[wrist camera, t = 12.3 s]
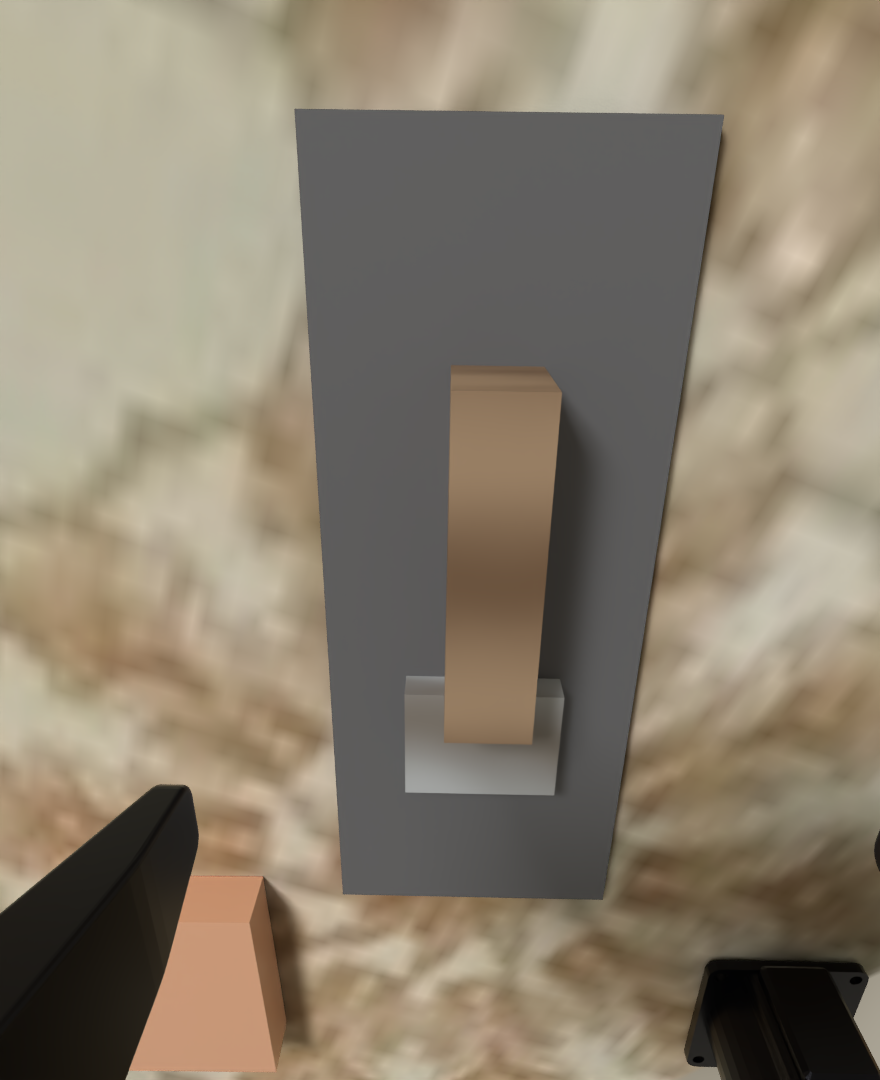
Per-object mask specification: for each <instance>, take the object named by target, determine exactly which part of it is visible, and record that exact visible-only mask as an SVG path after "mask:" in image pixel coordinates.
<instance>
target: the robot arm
mask: <svg viewBox="0 0 880 1080" xmlns="http://www.w3.org/2000/svg"><path fill="white" fill-rule="evenodd" d="M198 839H199V833H198V826H197V821H196V815H195V809H194V803H193V798H192V793H191V790H190V789H189V787H188V786H185V785H162V784H161V785H157V786H155V787H153V788H151V789H150V790H149V791H148V792H146V793H145V794H144V795H143V796H141V797H140V798H139V799H138V800H137V801H135V802H134V803H133V804H132V805H131V806H129V807H128V808H127V809H126V810H125V811H123V812H122V813H121V814H120V815H119V816H117V817H116V818H115V819H114V820H112V821H111V822H110V823H109V824H108V825H106V826H105V827H104V828H103V829H102V830H100V831H99V832H98V833H97V834H96V835H94V836H93V837H92V838H91V839H90V840H88V841H87V842H86V843H85V844H84V845H82V846H81V847H80V848H79V849H77V850H76V851H75V852H74V853H73V854H71V855H70V856H69V857H68V858H67V859H65V860H64V861H63V862H62V863H61V864H59V865H58V866H57V867H56V868H55V869H53V870H52V871H51V872H50V873H48V874H47V875H46V876H45V877H44V878H42V879H41V880H40V881H39V882H38V883H36V884H35V885H34V886H33V887H32V888H30V889H29V890H28V891H27V892H26V893H24V894H23V895H22V896H21V897H19V898H18V899H17V900H16V901H15V902H13V903H12V904H11V905H10V906H9V907H7V908H6V909H5V910H4V911H3V912H1V913H0V1080H125V1079H126V1077H127V1074H128V1071H129V1069H130V1066H131V1063H132V1061H133V1058H134V1055H135V1053H136V1050H137V1047H138V1045H139V1042H140V1039H141V1037H142V1034H143V1031H144V1029H145V1026H146V1023H147V1020H148V1018H149V1015H150V1012H151V1010H152V1007H153V1004H154V1002H155V999H156V996H157V994H158V991H159V988H160V985H161V982H162V979H163V976H164V973H165V970H166V966H167V963H168V959H169V956H170V952H171V948H172V945H173V941H174V937H175V933H176V929H177V925H178V922H179V918H180V914H181V910H182V906H183V902H184V899H185V895H186V891H187V887H188V883H189V879H190V876H191V872H192V868H193V864H194V860H195V857H196V853H197V848H198ZM874 853H875V859H876V863H877V866H878V869H879V871H880V831H879V834H878V836H877V839H876V842H875V848H874ZM868 979H869V977H868V976H867V974H866V972H865V970H864V969H863V967H862V965H860V964H857V963H833V962H787V961H740V960H715V961H712V962H710V963H709V964H707V965H706V967H705V970H704V974H703V978H702V982H701V986H700V990H699V994H698V998H697V1002H696V1006H695V1010H694V1013H693V1017H692V1021H691V1025H690V1029H689V1033H688V1037H687V1041H686V1045H685V1049H684V1052H685V1056H686V1059H687V1062H688V1064H690V1065H692V1066H699V1067H717V1068H718V1071H719V1074H720V1077H721V1080H880V1070H879V1068H878V1066H877V1064H876V1062H875V1060H874V1058H873V1056H872V1054H871V1052H870V1050H869V1048H868V1046H867V1044H866V1042H865V1040H864V1038H863V1036H862V1034H861V1032H860V1030H859V1028H858V1026H857V1025H856V1023H855V1021H854V1019H853V1017H854V1015H855V1013H856V1010H857V1008H858V1005H859V1002H860V1000H861V997H862V995H863V993H864V990H865V987H866V985H867V983H868Z"/></svg>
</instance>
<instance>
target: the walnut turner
mask: <svg viewBox="0 0 880 1080" xmlns="http://www.w3.org/2000/svg"><path fill="white" fill-rule="evenodd" d="M561 399H562V392H561V390H560V389H559V387H558V386H557V384H556V383H555V381H554V380H553V378H552V377H551V375H550V374H549V373H548V371H547V370H546V368H545V367H534V366H473V365H451V384H450V434H449V484H448V535H447V585H446V635H445V677H436V676H406V684H405V695H404V696H405V792H409V793H458V794H507V795H554V792H555V782H556V773H557V764H558V754H559V745H560V735H561V726H562V716H563V707H564V694H563V690H562V686H561V682H560V679H539V678H538V668H539V657H540V645H541V633H542V622H543V610H544V598H545V586H546V575H547V563H548V551H549V540H550V528H551V516H552V505H553V493H554V481H555V470H556V458H557V446H558V434H559V423H560V411H561Z"/></svg>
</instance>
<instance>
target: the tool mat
mask: <svg viewBox="0 0 880 1080" xmlns="http://www.w3.org/2000/svg"><path fill="white" fill-rule="evenodd" d="M723 119H724V115H709V114H635V113H561V112H487V111H413V110H339V109H295V123H296V139H297V155H298V172H299V188H300V204H301V220H302V236H303V253H304V269H305V285H306V301H307V318H308V334H309V350H310V366H311V382H312V399H313V415H314V431H315V447H316V463H317V480H318V496H319V512H320V528H321V544H322V561H323V577H324V593H325V609H326V625H327V642H328V658H329V674H330V690H331V706H332V723H333V739H334V755H335V771H336V787H337V804H338V820H339V836H340V852H341V868H342V885H343V894H355V895H403V896H451V897H499V898H547V899H594V900H603V894H604V888H605V881H606V875H607V868H608V862H609V855H610V849H611V843H612V836H613V830H614V823H615V817H616V810H617V804H618V797H619V791H620V784H621V778H622V771H623V765H624V759H625V752H626V746H627V739H628V733H629V726H630V720H631V713H632V707H633V700H634V694H635V688H636V681H637V675H638V668H639V662H640V655H641V649H642V642H643V636H644V629H645V623H646V616H647V610H648V604H649V597H650V591H651V584H652V578H653V571H654V565H655V558H656V552H657V545H658V539H659V533H660V526H661V520H662V513H663V507H664V500H665V494H666V487H667V481H668V474H669V468H670V461H671V455H672V449H673V442H674V436H675V429H676V423H677V416H678V410H679V403H680V397H681V390H682V384H683V378H684V371H685V365H686V358H687V352H688V345H689V339H690V332H691V326H692V319H693V313H694V307H695V300H696V294H697V287H698V281H699V274H700V268H701V261H702V255H703V248H704V242H705V235H706V229H707V223H708V216H709V210H710V203H711V197H712V190H713V184H714V177H715V171H716V164H717V158H718V152H719V145H720V139H721V132H722V126H723ZM451 365H473V366H534V367H545V368H546V370H547V371H548V373H549V374H550V375H551V377H552V378H553V380H554V381H555V383H556V384H557V386H558V387H559V389H560V390H561V392H562V399H561V411H560V423H559V434H558V446H557V458H556V470H555V481H554V493H553V505H552V516H551V528H550V540H549V551H548V563H547V575H546V586H545V598H544V610H543V622H542V633H541V645H540V657H539V668H538V678H539V679H560V682H561V686H562V690H563V694H564V707H563V716H562V726H561V735H560V745H559V754H558V764H557V773H556V782H555V792H554V795H507V794H458V793H409V792H405V696H404V695H405V684H406V676H436V677H445V635H446V585H447V535H448V484H449V434H450V384H451Z"/></svg>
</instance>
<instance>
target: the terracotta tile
mask: <svg viewBox="0 0 880 1080" xmlns="http://www.w3.org/2000/svg"><path fill="white" fill-rule="evenodd" d="M286 1024H287V1021H286V1015H285V1009H284V1003H283V996H282V990H281V984H280V978H279V972H278V966H277V959H276V953H275V947H274V941H273V935H272V929H271V922H270V916H269V910H268V904H267V898H266V892H265V885H264V879H263V876H190V879H189V883H188V887H187V891H186V895H185V899H184V902H183V906H182V910H181V914H180V918H179V922H178V925H177V929H176V933H175V937H174V941H173V945H172V948H171V952H170V956H169V959H168V963H167V966H166V970H165V973H164V976H163V979H162V982H161V985H160V988H159V991H158V994H157V996H156V999H155V1002H154V1004H153V1007H152V1010H151V1012H150V1015H149V1018H148V1020H147V1023H146V1026H145V1029H144V1031H143V1034H142V1037H141V1039H140V1042H139V1045H138V1047H137V1050H136V1053H135V1055H134V1058H133V1061H132V1063H131V1066H130V1069H129V1070H130V1071H218V1072H276V1071H277V1066H278V1061H279V1057H280V1052H281V1047H282V1043H283V1038H284V1033H285V1028H286Z"/></svg>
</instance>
